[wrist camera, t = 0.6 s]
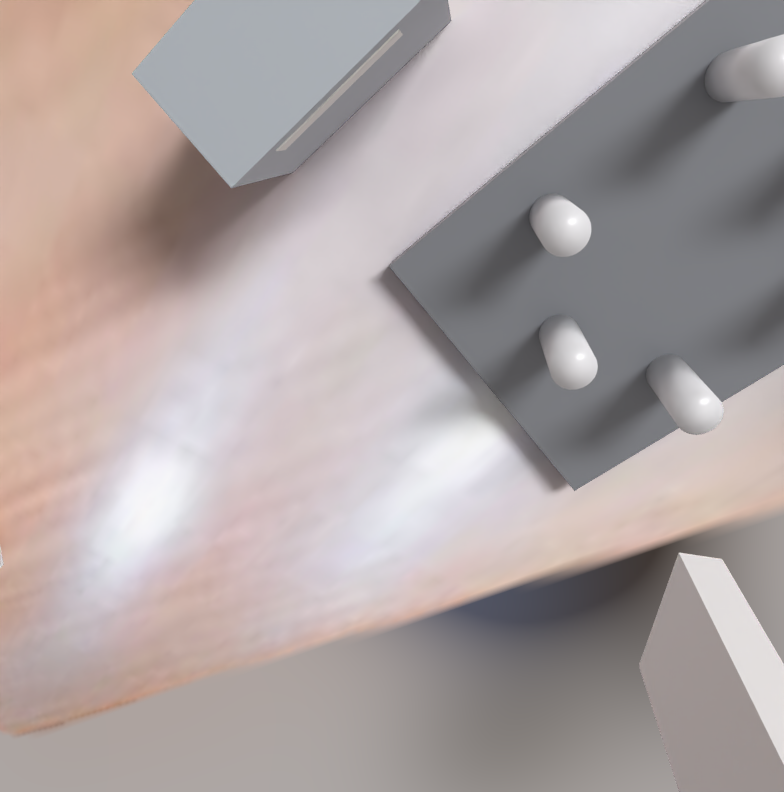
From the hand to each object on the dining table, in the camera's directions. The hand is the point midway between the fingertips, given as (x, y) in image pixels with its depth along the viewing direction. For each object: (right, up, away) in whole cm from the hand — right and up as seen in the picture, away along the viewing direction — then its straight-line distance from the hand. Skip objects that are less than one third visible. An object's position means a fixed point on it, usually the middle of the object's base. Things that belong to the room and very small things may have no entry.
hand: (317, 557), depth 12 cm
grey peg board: (+16, +11, +19) cm, 27 cm away
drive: (-1, +19, +17) cm, 26 cm away
